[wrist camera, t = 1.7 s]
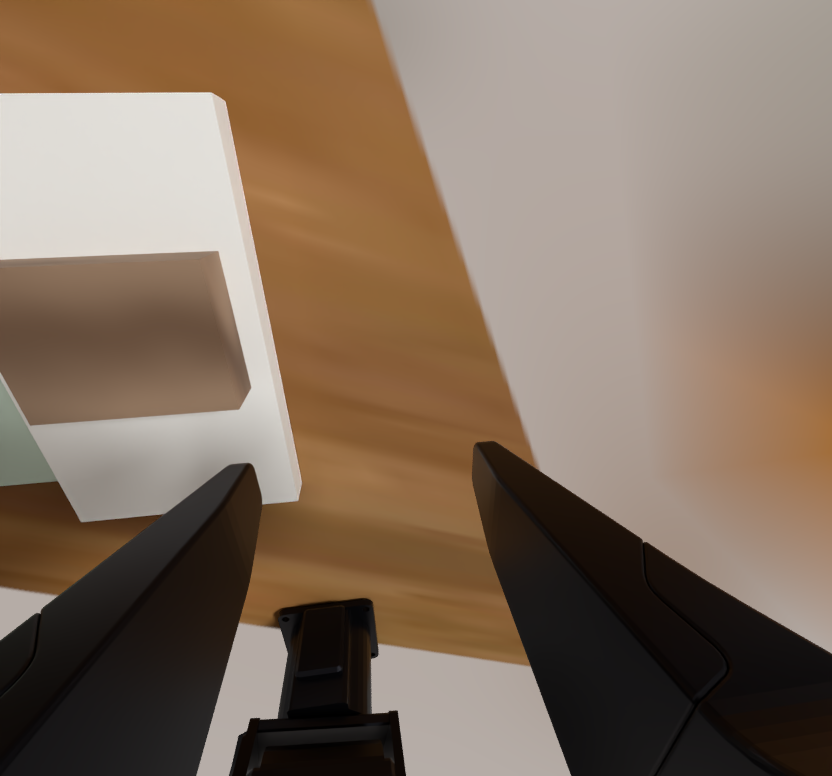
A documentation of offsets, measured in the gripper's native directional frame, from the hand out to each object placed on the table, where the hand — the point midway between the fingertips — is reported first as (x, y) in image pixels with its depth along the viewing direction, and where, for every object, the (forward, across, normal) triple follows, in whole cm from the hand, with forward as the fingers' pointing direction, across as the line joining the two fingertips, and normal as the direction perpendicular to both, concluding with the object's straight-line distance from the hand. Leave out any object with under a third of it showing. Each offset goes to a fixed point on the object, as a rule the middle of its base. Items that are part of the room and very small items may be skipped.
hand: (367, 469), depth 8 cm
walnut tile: (+10, +10, 0) cm, 14 cm away
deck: (+12, +10, +1) cm, 16 cm away
